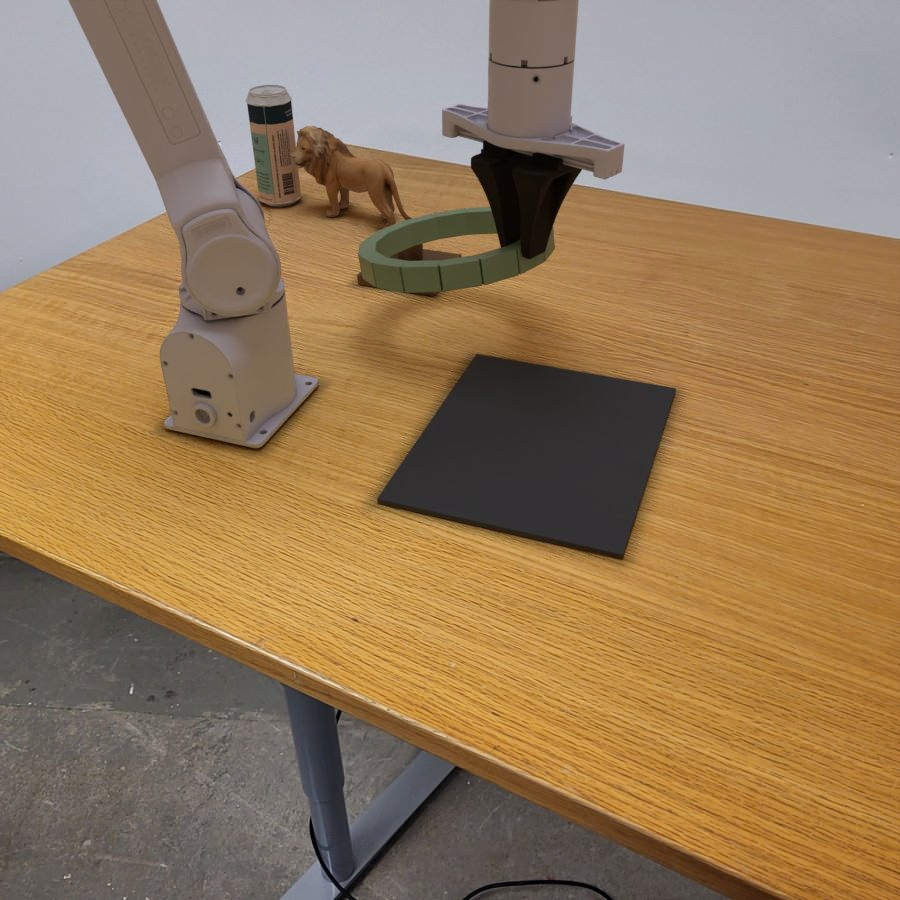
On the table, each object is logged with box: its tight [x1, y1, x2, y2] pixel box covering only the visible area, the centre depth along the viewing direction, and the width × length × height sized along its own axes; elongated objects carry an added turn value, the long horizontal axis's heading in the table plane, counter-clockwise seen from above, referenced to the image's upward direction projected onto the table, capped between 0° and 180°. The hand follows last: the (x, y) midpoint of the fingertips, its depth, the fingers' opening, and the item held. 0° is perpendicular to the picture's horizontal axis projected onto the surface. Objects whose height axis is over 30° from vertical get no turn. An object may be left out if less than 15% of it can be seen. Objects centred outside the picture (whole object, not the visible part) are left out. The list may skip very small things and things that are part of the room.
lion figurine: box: [290, 125, 412, 229], centre depth 98 cm, size 15×5×9 cm, turn 62°
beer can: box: [245, 84, 302, 208], centre depth 101 cm, size 5×5×12 cm
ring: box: [357, 206, 556, 294], centre depth 74 cm, size 15×15×2 cm
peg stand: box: [356, 243, 463, 297], centre depth 87 cm, size 8×8×5 cm
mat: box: [376, 353, 677, 560], centre depth 66 cm, size 20×16×1 cm
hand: (523, 250), depth 70 cm, fingers closed on ring, 1 cm apart
